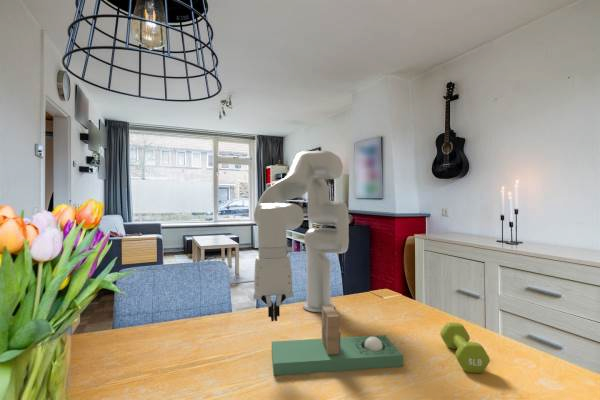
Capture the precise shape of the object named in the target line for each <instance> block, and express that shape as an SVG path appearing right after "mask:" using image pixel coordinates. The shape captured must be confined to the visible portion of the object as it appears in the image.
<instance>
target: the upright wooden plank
mask: <svg viewBox="0 0 600 400" xmlns="http://www.w3.org/2000/svg"><path fill="white" fill-rule="evenodd" d="M340 338H341V331H340V315H339V313H338V312H337V310H336V309H335V307H334V308H333V306H322V312H321V339H322V342H323V345H324V347H325V349H326V352H327V354H328V355H333V354H339V352H340Z"/></svg>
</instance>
